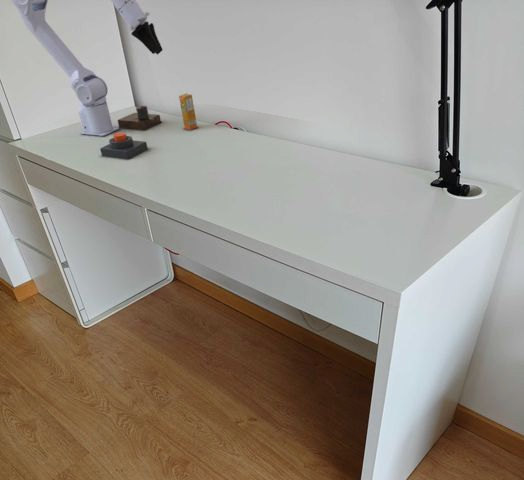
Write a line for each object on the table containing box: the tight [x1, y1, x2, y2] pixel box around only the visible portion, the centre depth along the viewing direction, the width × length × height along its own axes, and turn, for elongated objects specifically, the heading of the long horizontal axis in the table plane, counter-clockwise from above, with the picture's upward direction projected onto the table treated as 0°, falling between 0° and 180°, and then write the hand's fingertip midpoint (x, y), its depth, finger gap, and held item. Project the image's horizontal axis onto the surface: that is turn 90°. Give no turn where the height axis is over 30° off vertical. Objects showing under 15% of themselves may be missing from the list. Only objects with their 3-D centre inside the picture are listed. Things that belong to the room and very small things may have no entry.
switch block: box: [99, 135, 149, 160], centre depth 146 cm, size 10×9×4 cm
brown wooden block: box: [117, 112, 162, 131], centre depth 168 cm, size 12×9×3 cm
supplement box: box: [178, 92, 198, 131], centre depth 159 cm, size 3×3×10 cm
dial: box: [135, 105, 150, 120], centre depth 164 cm, size 4×4×4 cm
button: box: [112, 132, 127, 142], centre depth 144 cm, size 4×4×2 cm
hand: (158, 52), depth 146 cm, fingers open, 7 cm apart
